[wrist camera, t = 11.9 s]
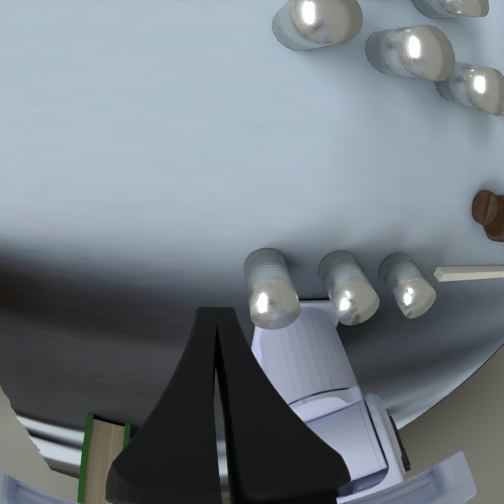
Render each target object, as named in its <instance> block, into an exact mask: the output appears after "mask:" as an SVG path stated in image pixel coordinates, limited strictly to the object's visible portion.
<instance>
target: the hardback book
mask: <svg viewBox="0 0 504 504" xmlns="http://www.w3.org/2000/svg"><path fill="white" fill-rule="evenodd" d="M130 426H131V424H130V423H126V422H125V427H123V426H119V425H115V424H111V423H107V422H103V421H100V420H96V419H94V414H92V413H88V417H87V423H86V429H85V435H84V442H83V449H82V457H81V465H80V475H79V488H78V503H80V504H112V503H109V502H107V501H106V499H105V491H106V480H107V475H108V472H109V469H110V467H111V464H112V462H113V460H114V459H115V458H116V457H117V456H118V455H119V453H120V452H121V451H122V450H123V449H124V448H125V447H126V445H127V444H128V443H129V437H130Z"/></svg>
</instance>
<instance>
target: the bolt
mask: <svg viewBox="0 0 504 504" xmlns="http://www.w3.org/2000/svg"><path fill="white" fill-rule="evenodd" d="M472 215H473V218H474V220H475V221H476V222H478V223H479V224H482V225H483V227H484V229H485V232H486V234H487V236H488V238H489V239H491V240H493V241H498V242H504V195H498V196H496V195H495V194H493V193H492V192H490V191H488V190H483V191H481V192H480V193H478V195H477V196H476V197H475V199H474V201H473V204H472Z"/></svg>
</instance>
